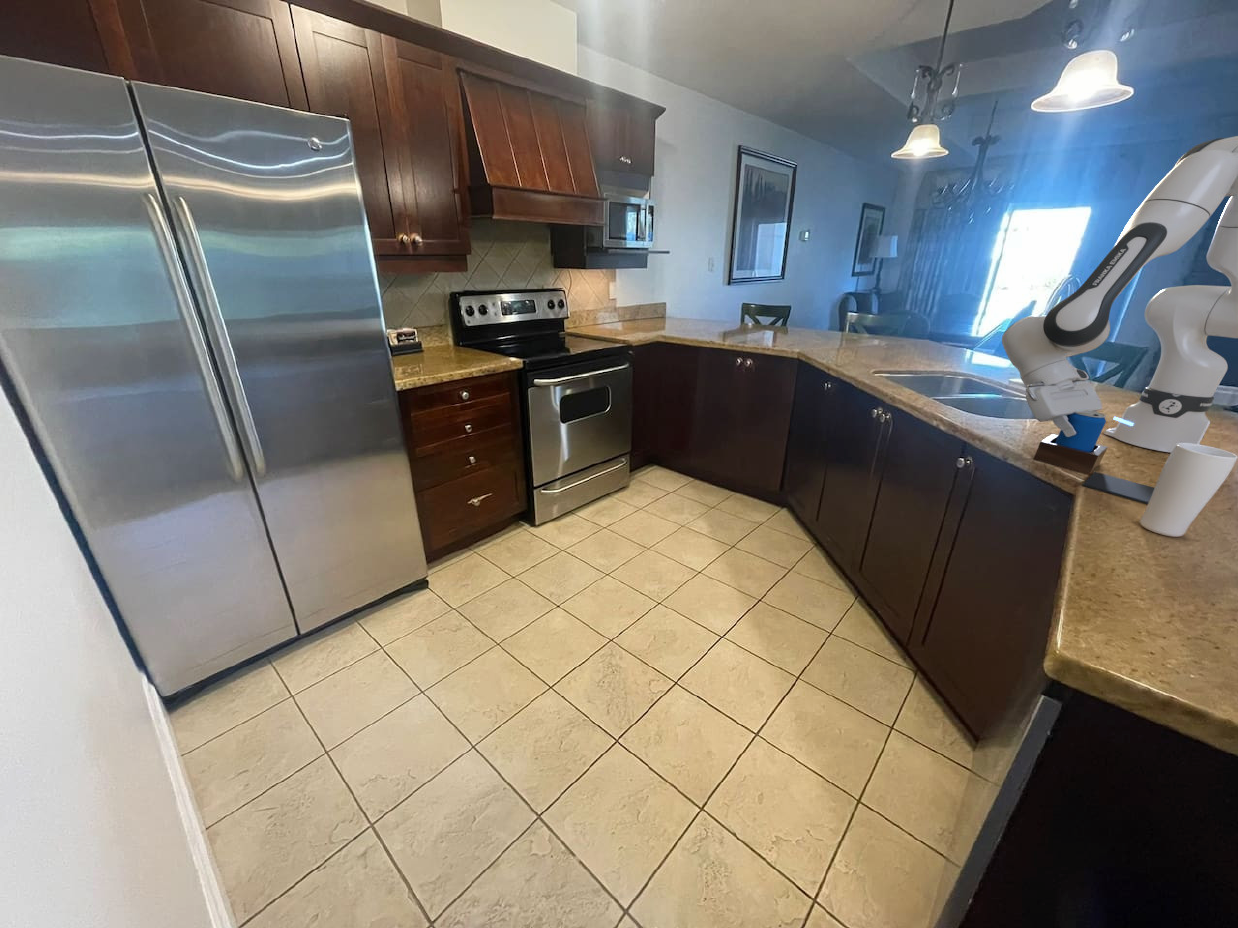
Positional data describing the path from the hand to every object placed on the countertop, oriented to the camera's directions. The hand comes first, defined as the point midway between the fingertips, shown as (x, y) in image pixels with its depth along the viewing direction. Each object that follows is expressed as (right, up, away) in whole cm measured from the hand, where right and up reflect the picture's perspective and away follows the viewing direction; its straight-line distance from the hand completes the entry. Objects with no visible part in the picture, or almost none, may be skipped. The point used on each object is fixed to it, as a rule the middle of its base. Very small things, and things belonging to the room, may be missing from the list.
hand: (1083, 434), depth 106 cm
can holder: (-1, -6, +3) cm, 7 cm away
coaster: (-1, -12, -10) cm, 15 cm away
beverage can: (-1, -7, +3) cm, 7 cm away
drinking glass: (-11, -18, -25) cm, 33 cm away
